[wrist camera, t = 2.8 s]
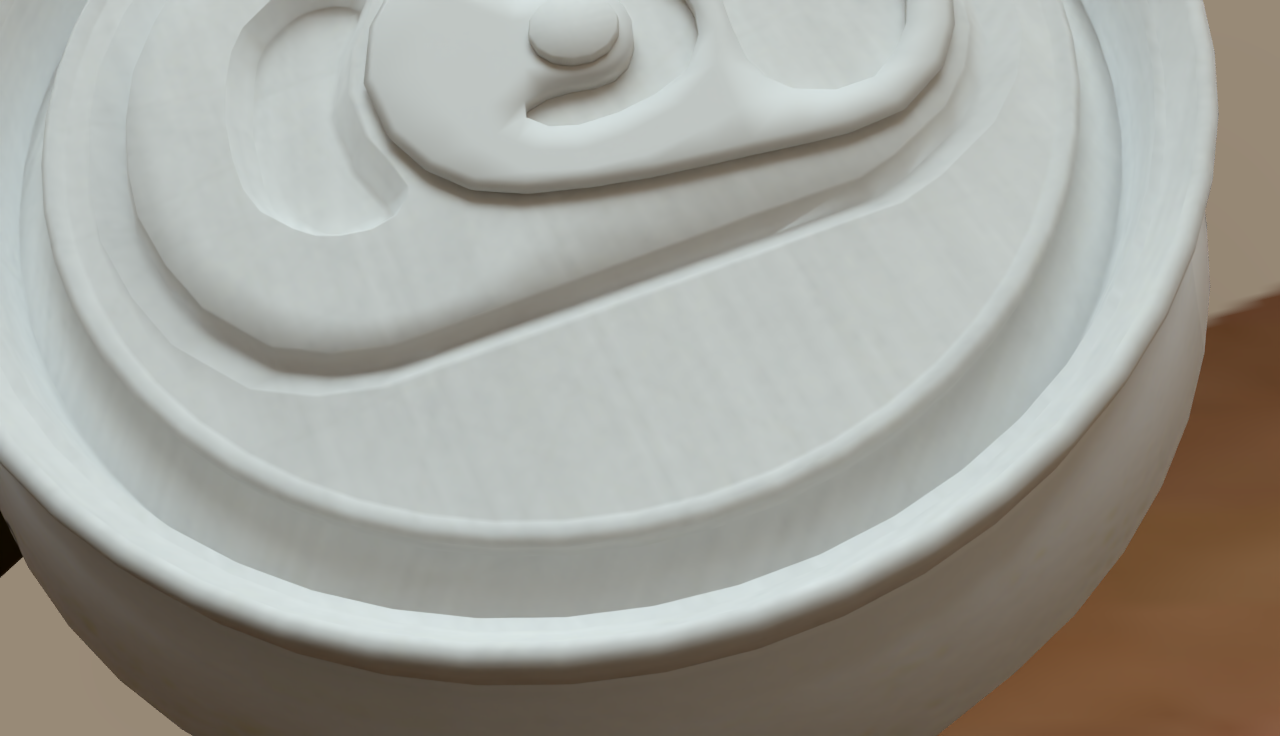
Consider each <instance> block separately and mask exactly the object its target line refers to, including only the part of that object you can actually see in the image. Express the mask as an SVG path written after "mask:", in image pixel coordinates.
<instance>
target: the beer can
mask: <svg viewBox="0 0 1280 736" xmlns="http://www.w3.org/2000/svg"><path fill="white" fill-rule="evenodd" d="M1218 115H1219V113H1218V99H1217V83H1216V68H1215V52H1214V48H1213V43H1212V39H1211V35H1210V30H1209V26H1208V21H1207V16H1206V12H1205V7H1204V3H1203V0H0V511H1V513H2V515H3V517H4V519H5V521H6V523H7V525H8V527H9V529H10V531H11V533H12V535H13V537H14V539H15V541H16V543H17V545H18V547H19V549H20V551H21V553H22V555H23V557H24V559H25V561H26V563H27V566H28V568H29V569H30V570H31V572H32V573H33V575H34V576H35V578H36V579H37V580H38V582H39V583H40V585H41V586H42V587H43V589H44V590H45V592H46V593H47V595H48V596H49V598H50V599H51V601H52V602H53V604H54V605H55V606H56V608H57V609H58V611H59V612H60V613H61V615H62V617H63V618H64V619H65V621H66V622H67V624H68V625H69V626H70V627H71V629H73V631H74V632H75V633H76V634H77V635H78V636H79V637H80V638H81V639H82V640H83V641H84V642H85V644H86V645H88V647H89V648H90V649H91V650H92V651H93V652H94V653H95V654H96V655H97V656H98V657H99V658H100V659H101V660H102V661H103V663H104V664H105V665H106V666H107V667H108V668H109V669H110V670H111V671H112V672H113V673H114V674H115V675H116V676H117V678H118V679H120V681H122V682H123V683H124V684H125V685H127V686H128V687H129V688H130V689H132V690H133V691H134V692H136V693H137V694H138V695H139V696H140V697H142V698H143V699H144V700H146V701H147V702H148V703H149V704H151V705H152V706H153V707H154V708H156V709H157V710H158V711H159V712H161V713H162V714H163V715H165V716H166V717H167V718H168V719H169V720H171V721H172V722H174V723H175V724H176V725H177V726H178V727H180V728H181V729H182V730H184V731H186V732H187V733H189V734H191V735H193V736H937V735H938V734H939V733H941V732H942V731H943V730H944V729H946V728H947V727H948V726H949V725H951V724H952V723H953V722H954V721H956V720H957V719H958V718H959V717H961V716H962V715H963V714H964V713H965V712H967V711H968V710H969V709H970V708H972V707H973V706H974V705H975V704H977V703H978V702H979V701H980V700H982V699H983V698H984V697H985V696H987V695H988V694H989V693H990V692H992V691H993V690H994V689H995V688H997V687H998V686H999V685H1000V684H1002V683H1003V682H1004V681H1005V680H1007V679H1008V678H1009V677H1010V676H1011V675H1013V674H1014V673H1015V672H1016V671H1017V670H1018V669H1019V668H1020V667H1021V666H1022V665H1023V664H1024V663H1026V662H1027V661H1028V660H1029V659H1030V658H1031V657H1032V656H1033V655H1034V654H1035V653H1036V652H1037V651H1038V650H1039V649H1040V648H1041V647H1042V646H1043V645H1044V644H1045V643H1046V642H1047V641H1048V640H1049V639H1050V638H1051V637H1052V636H1053V635H1054V634H1055V633H1056V632H1057V631H1058V630H1060V629H1061V628H1062V627H1063V626H1064V625H1065V624H1066V623H1067V622H1068V621H1069V620H1070V619H1071V618H1072V617H1073V616H1074V615H1075V614H1076V612H1077V611H1078V610H1079V609H1080V607H1081V606H1082V605H1083V604H1084V602H1085V601H1086V600H1087V598H1088V597H1089V596H1090V595H1091V593H1092V592H1093V591H1094V589H1095V588H1096V587H1097V586H1098V584H1099V583H1100V582H1101V581H1102V579H1103V578H1104V577H1105V575H1106V574H1107V573H1108V572H1109V570H1110V569H1111V568H1112V566H1113V565H1114V564H1115V563H1116V561H1117V560H1118V559H1119V557H1120V556H1121V555H1122V554H1123V552H1124V551H1125V549H1126V547H1127V546H1128V544H1129V542H1130V540H1131V539H1132V537H1133V535H1134V533H1135V532H1136V530H1137V528H1138V526H1139V525H1140V523H1141V521H1142V520H1143V518H1144V516H1145V514H1146V513H1147V511H1148V509H1149V507H1150V506H1151V504H1152V502H1153V500H1154V499H1155V497H1156V495H1157V494H1158V492H1159V490H1160V488H1161V487H1162V484H1163V482H1164V479H1165V477H1166V474H1167V472H1168V469H1169V467H1170V464H1171V462H1172V459H1173V457H1174V454H1175V452H1176V449H1177V447H1178V444H1179V442H1180V439H1181V437H1182V434H1183V432H1184V429H1185V427H1186V424H1187V422H1188V419H1189V415H1190V410H1191V406H1192V402H1193V398H1194V394H1195V389H1196V385H1197V381H1198V377H1199V373H1200V369H1201V364H1202V360H1203V356H1204V350H1205V339H1206V328H1207V317H1208V305H1209V294H1210V276H1209V257H1208V241H1207V224H1206V215H1205V209H1206V205H1207V201H1208V197H1209V193H1210V189H1211V185H1212V179H1213V169H1214V157H1215V147H1216V136H1217V126H1218Z"/></svg>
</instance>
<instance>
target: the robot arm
mask: <svg viewBox="0 0 1280 736" xmlns="http://www.w3.org/2000/svg"><path fill="white" fill-rule="evenodd" d="M22 557H23V555H22V553H21V551H20V549H19V547H18V545H17V543H16V541H15V539H14V537H13V535H12V533H11V531H10V529H9V527H8V525H7V523H6V521H5V519H4V517H3V515H2V513H1V511H0V577H1V576H2V575H4V574H5V573H6V572H7V571H8V570H9V569H10V568H11V567H12V566H13V565H15V564H16V563H17V562H18V561H19V560H20V559H21V558H22Z"/></svg>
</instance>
